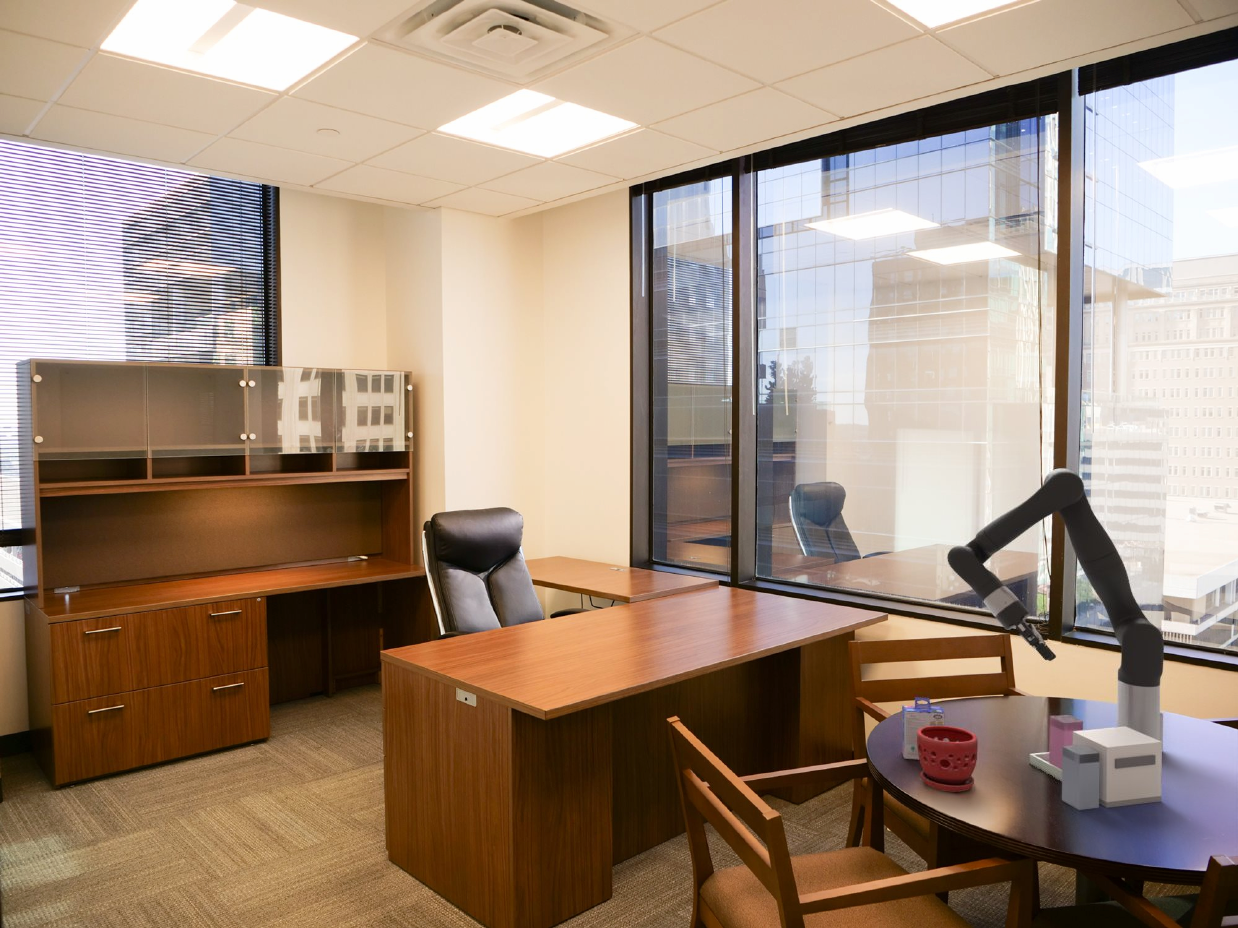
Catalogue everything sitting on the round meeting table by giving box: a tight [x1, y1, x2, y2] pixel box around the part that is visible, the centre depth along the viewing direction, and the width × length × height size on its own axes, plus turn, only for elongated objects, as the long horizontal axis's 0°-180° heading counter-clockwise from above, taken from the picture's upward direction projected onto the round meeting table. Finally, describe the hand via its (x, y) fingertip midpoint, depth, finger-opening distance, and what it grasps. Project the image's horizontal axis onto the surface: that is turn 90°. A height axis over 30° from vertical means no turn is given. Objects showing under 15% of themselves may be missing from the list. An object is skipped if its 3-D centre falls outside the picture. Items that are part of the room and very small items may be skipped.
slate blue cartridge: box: [1061, 745, 1100, 811], centre depth 183 cm, size 5×5×12 cm
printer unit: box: [1073, 726, 1163, 809], centre depth 187 cm, size 14×11×13 cm
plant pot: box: [917, 725, 979, 793], centre depth 194 cm, size 13×13×12 cm
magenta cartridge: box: [1048, 714, 1084, 770], centre depth 200 cm, size 5×5×12 cm
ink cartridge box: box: [901, 696, 946, 760], centre depth 210 cm, size 10×6×14 cm, turn 78°
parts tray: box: [1029, 751, 1062, 783], centre depth 201 cm, size 11×11×2 cm
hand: (1051, 658), depth 213 cm, fingers open, 8 cm apart
